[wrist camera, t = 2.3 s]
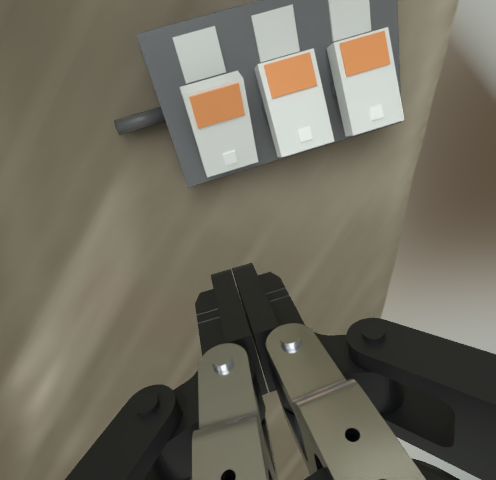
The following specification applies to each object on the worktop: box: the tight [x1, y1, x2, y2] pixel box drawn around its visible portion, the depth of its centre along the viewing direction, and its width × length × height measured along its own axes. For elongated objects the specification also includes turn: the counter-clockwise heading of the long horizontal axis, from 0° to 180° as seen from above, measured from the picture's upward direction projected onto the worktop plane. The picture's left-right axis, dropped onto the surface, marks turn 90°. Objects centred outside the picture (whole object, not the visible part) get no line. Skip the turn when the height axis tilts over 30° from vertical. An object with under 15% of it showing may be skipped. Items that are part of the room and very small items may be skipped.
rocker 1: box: [180, 70, 258, 177], centre depth 30 cm, size 7×4×2 cm, turn 13°
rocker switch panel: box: [114, 0, 402, 187], centre depth 32 cm, size 12×24×4 cm, turn 103°
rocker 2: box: [327, 27, 404, 136], centre depth 31 cm, size 7×4×2 cm, turn 14°
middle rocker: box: [254, 48, 334, 157], centre depth 30 cm, size 7×4×2 cm, turn 14°
